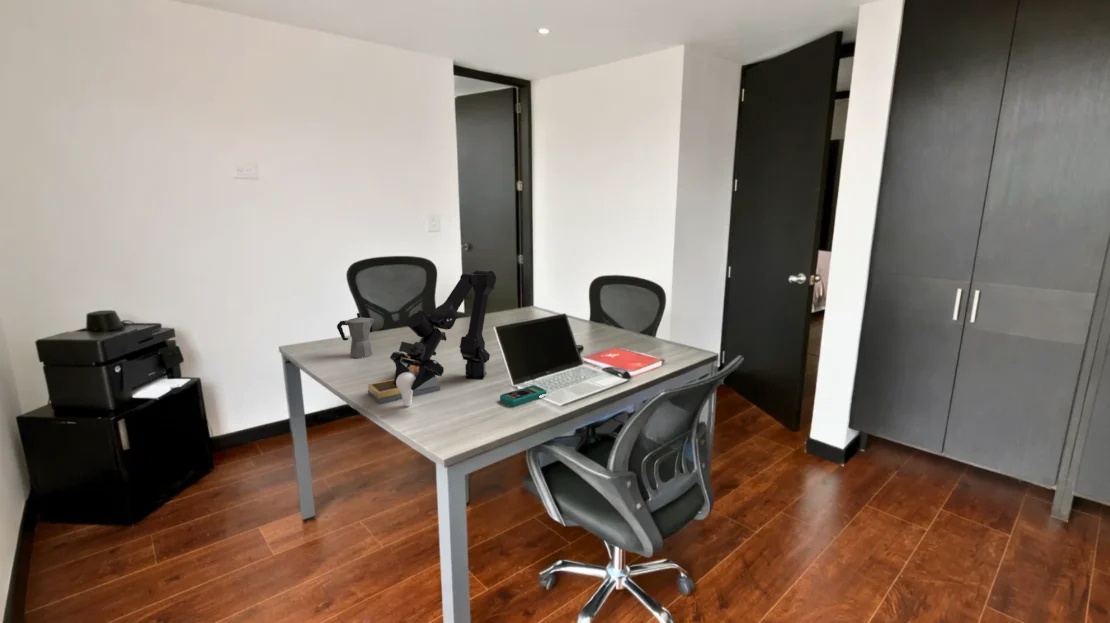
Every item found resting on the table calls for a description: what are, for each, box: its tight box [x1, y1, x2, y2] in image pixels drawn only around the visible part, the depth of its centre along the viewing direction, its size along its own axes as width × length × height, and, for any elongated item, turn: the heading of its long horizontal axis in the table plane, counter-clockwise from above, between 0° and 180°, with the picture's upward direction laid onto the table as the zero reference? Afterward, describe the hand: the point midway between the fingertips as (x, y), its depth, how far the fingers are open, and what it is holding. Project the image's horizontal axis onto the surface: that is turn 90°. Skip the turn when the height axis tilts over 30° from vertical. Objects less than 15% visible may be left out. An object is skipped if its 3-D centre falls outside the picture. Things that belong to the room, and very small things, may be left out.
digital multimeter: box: [499, 384, 548, 408], centre depth 166 cm, size 7×15×3 cm, turn 132°
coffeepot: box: [336, 312, 376, 359], centre depth 208 cm, size 15×9×18 cm, turn 129°
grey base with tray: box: [367, 371, 441, 405], centre depth 170 cm, size 21×11×6 cm, turn 128°
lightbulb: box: [396, 372, 416, 407], centre depth 157 cm, size 6×6×11 cm
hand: (403, 387), depth 156 cm, fingers open, 7 cm apart
